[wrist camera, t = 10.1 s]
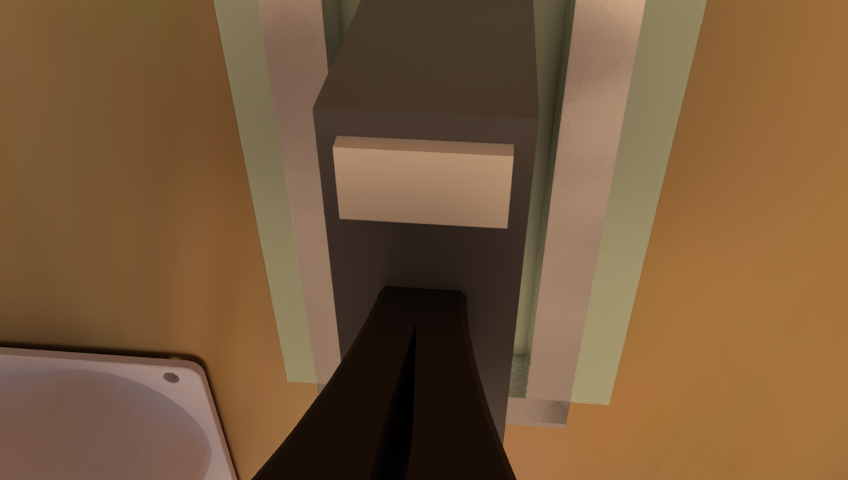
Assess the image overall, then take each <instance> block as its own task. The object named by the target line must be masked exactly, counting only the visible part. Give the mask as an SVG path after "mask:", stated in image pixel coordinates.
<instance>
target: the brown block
mask: <svg viewBox="0 0 848 480" xmlns="http://www.w3.org/2000/svg"><path fill="white" fill-rule="evenodd" d="M312 109H313V118H314V127H315V136H316V145H317V154H318V163H319V171H320V180H321V189H322V198H323V207H324V216H325V225H326V234H327V242H328V251H329V260H330V269H331V278H332V287H333V296H334V305H335V313H336V322H337V331H338V340H339V349H340V358H341V361H342V360H343V358H344V357H345V355H346V354H347V352H348V350H349V349H350V347H351V345H352V344H353V342H354V340H355V339H356V337H357V335H358V334H359V332H360V330H361V328H362V327H363V325H364V323H365V321H366V319H367V317H368V315H369V314H370V312H371V310H372V308H373V306H374V303H375V301H376V299H377V297H378V295H379V292H380V291H381V290H382V289H384V288H385V287H386V286H391V287H408V288H424V289H440V290H456V291H462V292H463V293H464V294H465V295H466V296H467V315H468V324H469V331H470V337H471V342H472V347H473V352H474V357H475V361H476V365H477V369H478V372H479V376H480V379H481V383H482V386H483V389H484V393H485V396H486V400H487V403H488V406H489V409H490V412H491V415H492V418H493V421H494V424H495V426H496V429H497V432H498V435H499V437H500V440H501V443H502V445H503V441H504V432H505V423H506V414H507V405H508V395H509V386H510V377H511V368H512V359H513V350H514V341H515V332H516V323H517V314H518V305H519V296H520V287H521V278H522V269H523V260H524V251H525V242H526V233H527V224H528V215H529V206H530V197H531V188H532V179H533V170H534V161H535V152H536V143H537V134H538V125H539V105H538V85H537V65H536V45H535V25H534V5H533V0H361V1H360V3H359V5H358V8H357V10H356V12H355V14H354V17H353V19H352V21H351V23H350V26H349V28H348V30H347V32H346V34H345V37H344V39H343V41H342V43H341V46H340V48H339V50H338V52H337V55H336V57H335V59H334V61H333V64H332V66H331V68H330V70H329V73H328V75H327V77H326V79H325V81H324V84H323V86H322V88H321V90H320V93H319V95H318V97H317V99H316V102H315V104H314V106H313V108H312Z"/></svg>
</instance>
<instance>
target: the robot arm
mask: <svg viewBox="0 0 848 480" xmlns="http://www.w3.org/2000/svg"><path fill="white" fill-rule="evenodd" d="M0 480H237V478H236V474H235V471H234V468H233V464H232V461H231V458H230V454H229V451H228V448H227V445H226V441H225V438H224V435H223V431H222V428H221V425H220V421H219V418H218V415H217V411H216V408H215V405H214V402H213V398H212V395H211V392H210V388H209V385H208V382H207V378H206V375H205V372H204V370H203V368H202V367H201V366H200V365H198V364H197V363H195V362H193V361H188V360H174V359H160V358H146V357H132V356H118V355H104V354H90V353H76V352H62V351H48V350H34V349H20V348H6V347H0ZM251 480H516V477H515V475H514V473H513V470H512V468H511V465H510V463H509V461H508V458H507V456H506V453H505V451H504V448H503V445H502V443H501V440H500V437H499V435H498V432H497V429H496V426H495V424H494V421H493V418H492V415H491V412H490V409H489V406H488V403H487V400H486V396H485V393H484V389H483V386H482V383H481V379H480V376H479V372H478V369H477V365H476V361H475V357H474V352H473V347H472V342H471V337H470V331H469V324H468V315H467V296H466V295H465V294H464V293H463V292H462V291H456V290H440V289H424V288H408V287H391V286H386V287H385V288H384V289H382V290H381V291H380V292H379V295H378V297H377V299H376V301H375V303H374V306H373V308H372V310H371V312H370V314H369V315H368V317H367V319H366V321H365V323H364V325H363V327H362V328H361V330H360V332H359V334H358V335H357V337H356V339H355V340H354V342H353V344H352V345H351V347H350V349H349V350H348V352H347V354H346V355H345V357H344V358H343V360H342V361H341V363H340V364H339V366H338V367H337V369H336V371H335V372H334V374H333V375H332V377H331V378H330V380H329V381H328V383H327V384H326V386H325V387H324V389H323V390H322V391H321V393H320V394H319V396H318V397H317V398H316V400H315V401H314V402H313V404H312V405H311V406H310V408H309V409H308V410H307V412H306V413H305V415H304V416H303V417H302V419H301V420H300V421H299V423H298V424H297V425H296V427H295V428H294V429H293V431H292V432H291V433H290V434H289V436H288V437H287V438H286V439H285V441H284V442H283V443H282V444H281V445H280V447H279V448H278V449H277V450H276V451H275V453H274V454H273V455H272V456H271V457H270V459H269V460H268V461H267V462H266V463H265V464H264V465H263V467H262V468H261V469H260V470H259V471H258V472H257V474H256V475H255V476H254V477H253V478H252V479H251Z"/></svg>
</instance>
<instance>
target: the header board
mask: <svg viewBox="0 0 848 480" xmlns="http://www.w3.org/2000/svg"><path fill="white" fill-rule="evenodd" d="M213 1H214V6H215V12H216V17H217V22H218V27H219V32H220V37H221V42H222V47H223V53H224V58H225V63H226V68H227V73H228V78H229V83H230V88H231V94H232V99H233V104H234V109H235V114H236V119H237V124H238V129H239V135H240V140H241V145H242V150H243V155H244V160H245V165H246V171H247V176H248V181H249V186H250V191H251V196H252V201H253V206H254V212H255V217H256V222H257V227H258V232H259V237H260V242H261V247H262V253H263V258H264V263H265V268H266V273H267V278H268V283H269V288H270V294H271V299H272V304H273V309H274V314H275V319H276V324H277V330H278V335H279V340H280V345H281V350H282V355H283V360H284V365H285V371H286V376H287V381H288V382H302V383H316V384H317V386H318V392H319V394H320V393H321V391H322V390H323V389H324V387H325V386H326V384H327V383H328V381H329V380H330V378H331V377H332V375H333V374H334V372H335V371H336V369H337V367H338V366H339V364H340V363H341V358H340V349H339V340H338V331H337V322H336V313H335V305H334V296H333V287H332V278H331V269H330V260H329V251H328V242H327V234H326V225H325V216H324V207H323V198H322V189H321V180H320V171H319V163H318V154H317V145H316V136H315V127H314V118H313V109H312V108H313V106H314V104H315V102H316V99H317V97H318V95H319V93H320V90H321V88H322V86H323V84H324V81H325V79H326V77H327V75H328V73H329V70H330V68H331V66H332V64H333V61H334V59H335V57H336V55H337V52H338V50H339V48H340V46H341V43H342V41H343V39H344V37H345V34H346V32H347V30H348V28H349V26H350V23H351V21H352V19H353V17H354V14H355V12H356V10H357V8H358V5H359V3H360V1H361V0H213ZM706 3H707V0H533V5H534V25H535V45H536V65H537V85H538V105H539V125H538V134H537V143H536V152H535V161H534V170H533V179H532V188H531V197H530V206H529V215H528V224H527V233H526V242H525V251H524V260H523V269H522V278H521V287H520V296H519V305H518V314H517V323H516V332H515V341H514V350H513V359H512V368H511V377H510V386H509V395H508V405H507V414H506V423H505V424H510V425H523V426H536V427H549V428H562V429H565V426H566V421H567V416H568V410H569V405H570V402H575V403H589V404H602V405H609V403H610V399H611V395H612V391H613V386H614V382H615V378H616V374H617V370H618V366H619V362H620V358H621V354H622V349H623V345H624V341H625V337H626V333H627V329H628V325H629V321H630V316H631V312H632V308H633V304H634V300H635V296H636V292H637V288H638V283H639V279H640V275H641V271H642V267H643V263H644V259H645V255H646V251H647V246H648V242H649V238H650V234H651V230H652V226H653V222H654V218H655V213H656V209H657V205H658V201H659V197H660V193H661V189H662V185H663V181H664V176H665V172H666V168H667V164H668V160H669V156H670V152H671V148H672V143H673V139H674V135H675V131H676V127H677V123H678V119H679V115H680V111H681V106H682V102H683V98H684V94H685V90H686V86H687V82H688V78H689V73H690V69H691V65H692V61H693V57H694V53H695V49H696V45H697V41H698V36H699V32H700V28H701V24H702V20H703V16H704V12H705V8H706Z"/></svg>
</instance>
